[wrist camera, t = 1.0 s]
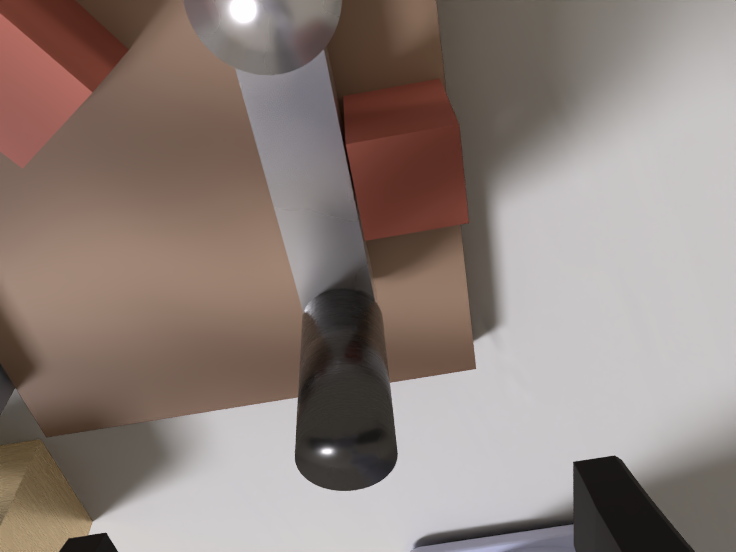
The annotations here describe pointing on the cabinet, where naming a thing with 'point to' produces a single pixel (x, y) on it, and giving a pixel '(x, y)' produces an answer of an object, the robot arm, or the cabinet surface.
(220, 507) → the cabinet surface
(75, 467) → the cabinet surface
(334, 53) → the crank base
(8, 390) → the tray
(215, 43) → the crank
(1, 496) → the stop block
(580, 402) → the cabinet surface
